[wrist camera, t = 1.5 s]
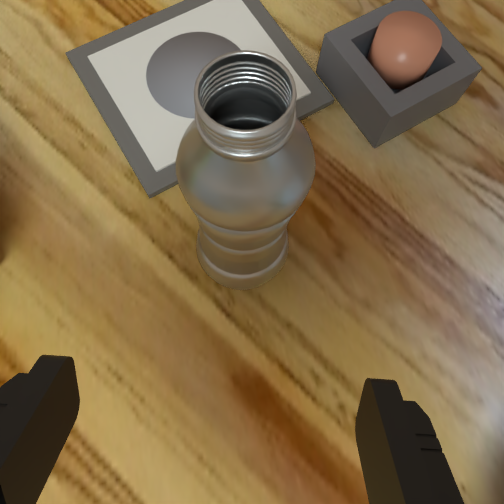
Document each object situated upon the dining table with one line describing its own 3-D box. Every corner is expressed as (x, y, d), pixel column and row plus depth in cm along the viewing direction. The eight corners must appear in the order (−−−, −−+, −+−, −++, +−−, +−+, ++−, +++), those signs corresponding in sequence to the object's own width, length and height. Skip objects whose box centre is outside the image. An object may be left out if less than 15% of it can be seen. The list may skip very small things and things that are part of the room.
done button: (402, 30, 38) (415, 1, 35) (438, 73, 37) (455, 46, 34) (354, 54, 37) (364, 26, 35) (390, 98, 36) (403, 73, 33)
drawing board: (240, -19, 43) (240, -28, 43) (333, 103, 39) (335, 96, 39) (67, 57, 40) (63, 50, 39) (149, 198, 36) (147, 193, 35)
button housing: (395, 32, 42) (413, -9, 38) (456, 103, 40) (482, 68, 35) (315, 72, 40) (324, 33, 36) (374, 148, 38) (390, 117, 34)
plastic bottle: (193, 224, 36) (139, 30, 17) (277, 211, 36) (316, 8, 17) (206, 303, 34) (160, 186, 15) (293, 287, 34) (358, 155, 15)
